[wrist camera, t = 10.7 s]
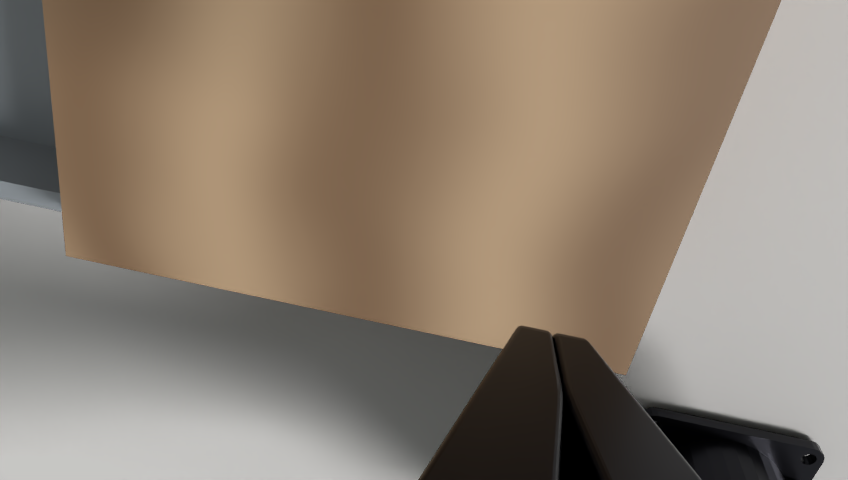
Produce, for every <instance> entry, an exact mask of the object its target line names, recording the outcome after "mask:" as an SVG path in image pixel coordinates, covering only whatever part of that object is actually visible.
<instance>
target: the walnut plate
mask: <svg viewBox="0 0 848 480" xmlns="http://www.w3.org/2000/svg"><path fill="white" fill-rule="evenodd" d="M780 2H781V0H42V5H43V16H44V27H45V37H46V48H47V59H48V69H49V80H50V91H51V101H52V112H53V123H54V133H55V144H56V155H57V165H58V176H59V187H60V197H61V208H62V219H63V229H64V240H65V251H66V256H69V257H74V258H78V259H83V260H88V261H92V262H97V263H102V264H106V265H111V266H116V267H120V268H125V269H130V270H135V271H139V272H144V273H149V274H153V275H158V276H163V277H167V278H172V279H177V280H181V281H186V282H191V283H196V284H200V285H205V286H210V287H214V288H219V289H224V290H228V291H233V292H238V293H242V294H247V295H252V296H257V297H261V298H266V299H271V300H275V301H280V302H285V303H289V304H294V305H299V306H303V307H308V308H313V309H318V310H322V311H327V312H332V313H336V314H341V315H346V316H350V317H355V318H360V319H364V320H369V321H374V322H379V323H383V324H388V325H393V326H397V327H402V328H407V329H411V330H416V331H421V332H425V333H430V334H435V335H440V336H444V337H449V338H454V339H458V340H463V341H468V342H472V343H477V344H482V345H486V346H491V347H496V348H501V349H503V348H504V346H505V345H506V343H507V342H508V340H509V339H510V337H511V336H512V334H513V332H514V331H515V329H516V328H517V327H518V326H521V325H522V326H528V327H532V328H537V329H542V330H546V331H549V332H550V333H551V334H552V336H553V335H554V334H556V333H560V334H565V335H570V336H575V337H580V338H584V339H586V340H587V341H589V342H590V343H591V345H592V346H593V347H594V348H595V350H596V351H597V352H598V353H599V355H600V356H601V357H602V358H603V359H604V361H605V362H606V363H607V364H608V366H609V367H610V368H611V369H612V370H613V372H614V373H618V374H623V375H626V374H627V371H628V369H629V366H630V364H631V362H632V359H633V357H634V354H635V352H636V350H637V347H638V345H639V342H640V340H641V337H642V335H643V333H644V330H645V328H646V325H647V323H648V321H649V318H650V316H651V313H652V311H653V308H654V306H655V304H656V301H657V299H658V296H659V294H660V292H661V289H662V287H663V284H664V282H665V280H666V277H667V275H668V272H669V270H670V267H671V265H672V263H673V260H674V258H675V255H676V253H677V251H678V248H679V246H680V243H681V241H682V239H683V236H684V234H685V231H686V229H687V226H688V224H689V222H690V219H691V217H692V214H693V212H694V210H695V207H696V205H697V202H698V200H699V198H700V195H701V193H702V190H703V188H704V185H705V183H706V181H707V178H708V176H709V173H710V171H711V169H712V166H713V164H714V161H715V159H716V157H717V154H718V152H719V149H720V147H721V144H722V142H723V140H724V137H725V135H726V132H727V130H728V128H729V125H730V123H731V120H732V118H733V116H734V113H735V111H736V108H737V106H738V103H739V101H740V99H741V96H742V94H743V91H744V89H745V87H746V84H747V82H748V79H749V77H750V75H751V72H752V70H753V67H754V65H755V62H756V60H757V58H758V55H759V53H760V50H761V48H762V46H763V43H764V41H765V38H766V36H767V33H768V31H769V29H770V26H771V24H772V21H773V19H774V17H775V14H776V12H777V9H778V7H779V5H780Z"/></svg>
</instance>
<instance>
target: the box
mask: <svg viewBox="0 0 848 480" xmlns="http://www.w3.org/2000/svg"><path fill="white" fill-rule="evenodd" d="M0 199H4V200H9V201H13V202H18V203H23V204H27V205H32V206H37V207H42V208H46V209H51V210H56V211H60V212H62V208H61V197H60V187H59V176H58V165H57V155H56V144H55V133H54V123H53V112H52V101H51V91H50V80H49V69H48V59H47V48H46V37H45V27H44V16H43V5H42V0H0Z"/></svg>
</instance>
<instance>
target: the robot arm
mask: <svg viewBox="0 0 848 480" xmlns="http://www.w3.org/2000/svg"><path fill="white" fill-rule="evenodd" d="M654 421H657V422H656V423H655V422H654ZM807 454H810V455H808V456H804V455H807ZM823 461H824V455H823V453H822V451H821V449H820V447H819V445H818V444H817V443H815V442H812V441H809V440H804V439H800V438H795V437H790V436H786V435H781V434H776V433H771V432H767V431H762V430H757V429H753V428H748V427H743V426H739V425H734V424H729V423H725V422H720V421H715V420H711V419H706V418H701V417H697V416H692V415H687V414H683V413H678V412H673V411H669V410H664V409H659V408H647V409H644V408H643V407H642V406H641V405H640V404H639V402H638V401H637V400H636V399H635V397H634V396H633V395H632V394H631V393H630V391H629V390H628V389H627V388H626V386H625V385H624V384H623V383H622V381H621V380H620V379H619V378H618V377H617V375H616V374H615V373H614V372H613V370H612V369H611V368H610V367H609V366H608V364H607V363H606V362H605V361H604V359H603V358H602V357H601V356H600V355H599V353H598V352H597V351H596V350H595V348H594V347H593V346H592V345H591V343H590V342H589V341H587V340H586V339H584V338H580V337H575V336H570V335H565V334H560V333H556V334H554V335H553V336H552V334H551V333H550V332H549V331H546V330H542V329H537V328H532V327H528V326H522V325H521V326H518V327H517V328H516V329H515V331H514V332H513V334H512V336H511V337H510V339H509V340H508V342H507V343H506V345H505V346H504V348H503V349H502V351H501V353H500V354H499V356H498V357H497V359H496V360H495V362H494V363H493V365H492V366H491V368H490V370H489V371H488V373H487V374H486V376H485V377H484V379H483V380H482V382H481V383H480V385H479V387H478V388H477V390H476V391H475V393H474V394H473V396H472V397H471V399H470V400H469V402H468V404H467V405H466V407H465V408H464V410H463V411H462V413H461V414H460V416H459V418H458V419H457V421H456V422H455V424H454V425H453V427H452V428H451V430H450V431H449V433H448V435H447V436H446V438H445V439H444V441H443V442H442V444H441V445H440V447H439V448H438V450H437V452H436V453H435V455H434V456H433V458H432V459H431V461H430V462H429V464H428V465H427V467H426V469H425V470H424V472H423V473H422V475H421V476H420V478H419V479H418V480H812V479H813V477H814V476H815V474H816V473H817V471H818V470H819V468H820V466H821V465H822V463H823Z"/></svg>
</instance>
